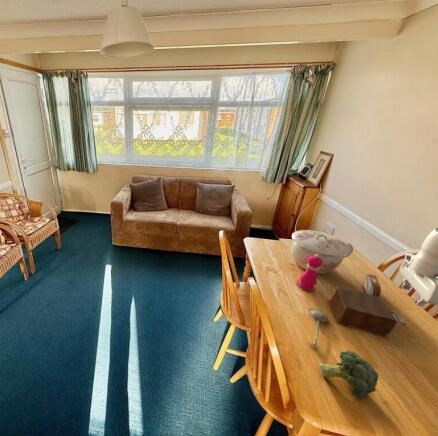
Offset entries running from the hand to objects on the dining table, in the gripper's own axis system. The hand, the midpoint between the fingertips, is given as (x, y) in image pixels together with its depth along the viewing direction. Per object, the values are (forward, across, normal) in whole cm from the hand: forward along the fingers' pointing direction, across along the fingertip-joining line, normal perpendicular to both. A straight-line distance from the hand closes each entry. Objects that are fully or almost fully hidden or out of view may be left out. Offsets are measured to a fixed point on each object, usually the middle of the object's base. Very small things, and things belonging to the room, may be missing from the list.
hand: (411, 296), depth 89 cm
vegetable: (+17, -35, +26) cm, 47 cm away
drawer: (+16, 0, +8) cm, 18 cm away
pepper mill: (+17, +14, +30) cm, 37 cm away
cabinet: (+17, 0, +12) cm, 21 cm away
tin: (+17, +21, +2) cm, 27 cm away
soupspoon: (+17, -14, +30) cm, 37 cm away
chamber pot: (+17, +36, +24) cm, 46 cm away
